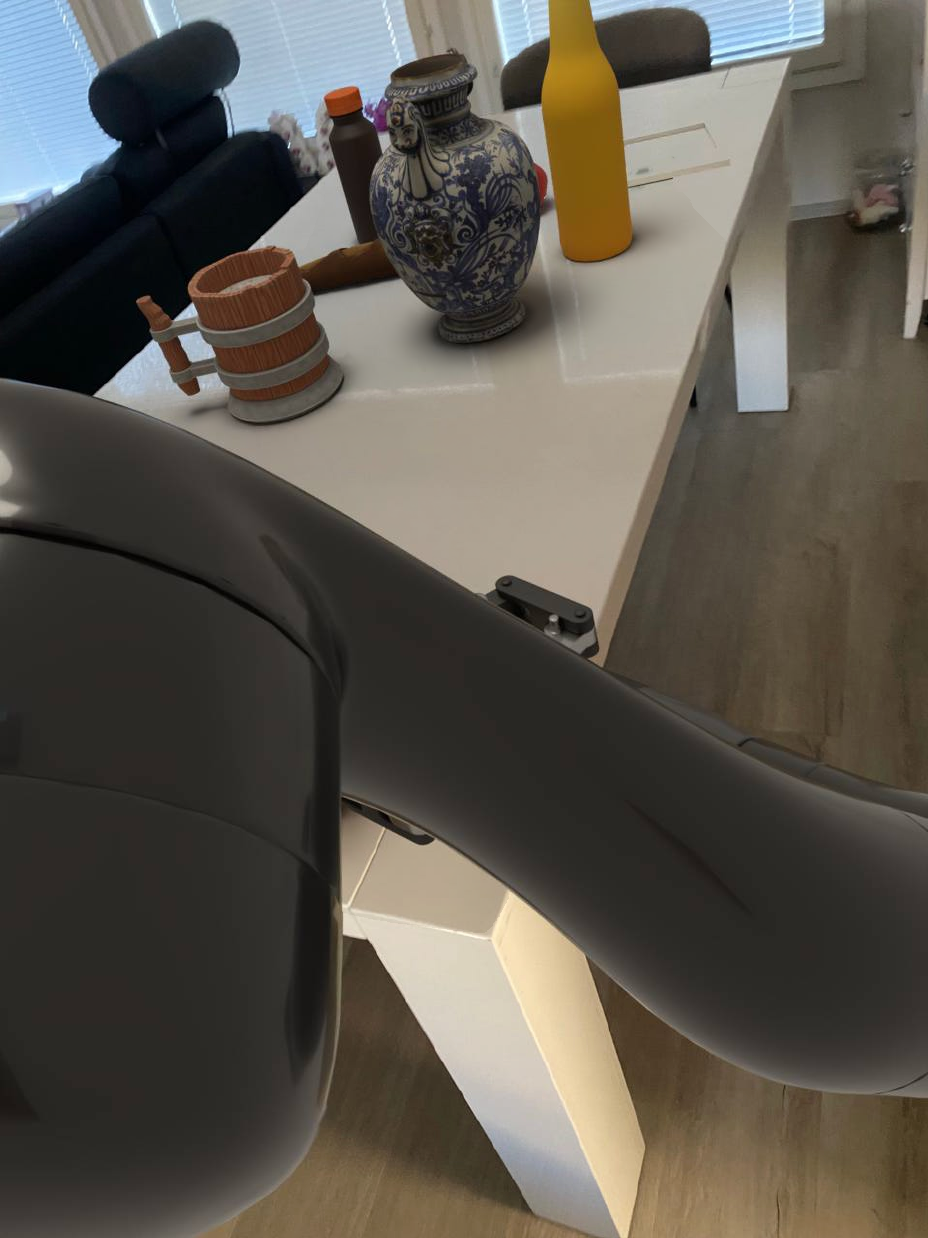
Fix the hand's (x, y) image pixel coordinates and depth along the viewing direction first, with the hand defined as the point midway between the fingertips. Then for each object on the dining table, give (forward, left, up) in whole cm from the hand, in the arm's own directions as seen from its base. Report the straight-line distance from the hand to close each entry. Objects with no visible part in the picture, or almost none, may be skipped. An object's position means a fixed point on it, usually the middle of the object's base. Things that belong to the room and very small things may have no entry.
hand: (358, 649), depth 49 cm
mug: (+55, +42, -18) cm, 71 cm away
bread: (+86, +39, -18) cm, 96 cm away
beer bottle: (+90, +10, -18) cm, 92 cm away
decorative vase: (+71, +20, -18) cm, 76 cm away
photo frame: (+120, +6, -18) cm, 121 cm away
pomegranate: (+104, +25, -18) cm, 108 cm away
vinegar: (+99, +45, -18) cm, 110 cm away
